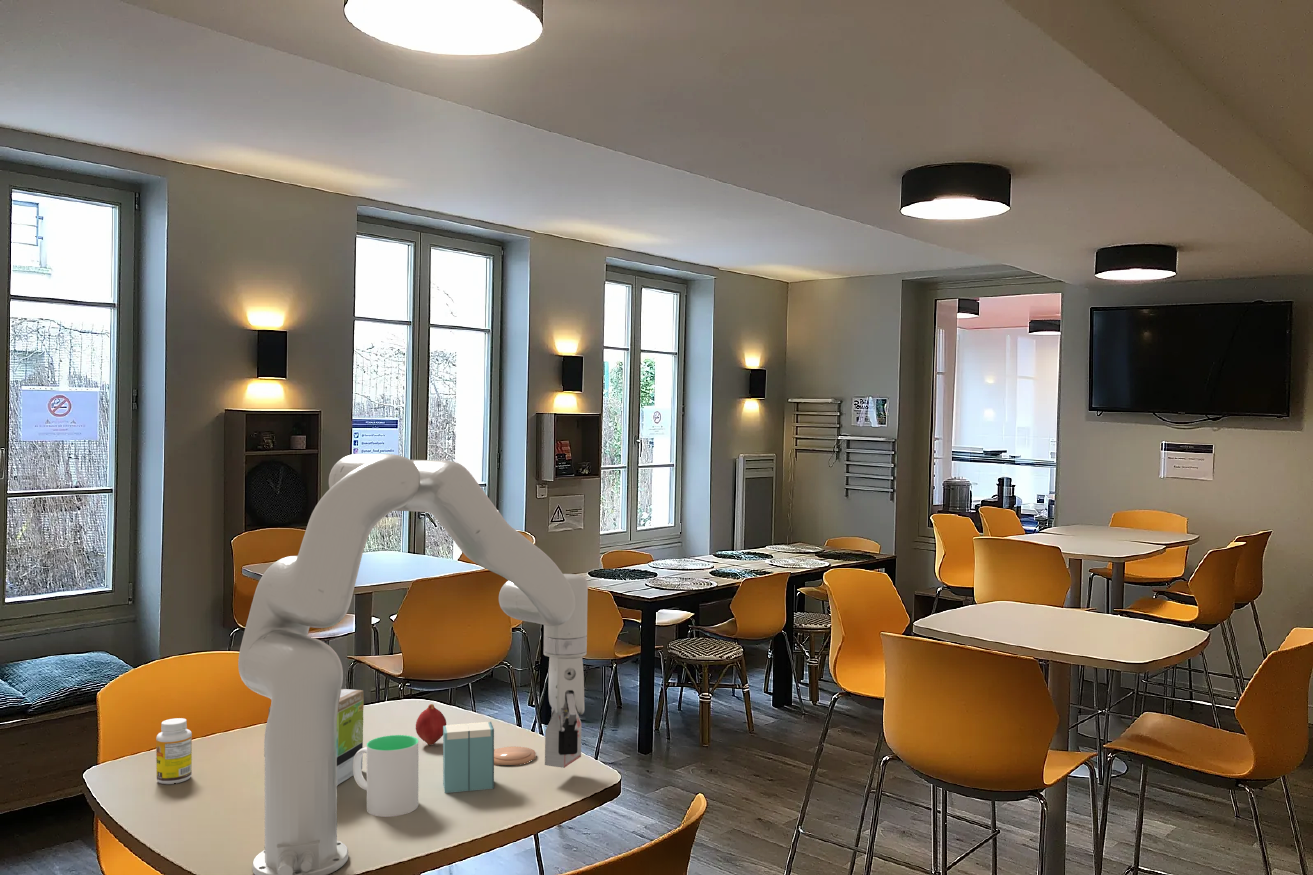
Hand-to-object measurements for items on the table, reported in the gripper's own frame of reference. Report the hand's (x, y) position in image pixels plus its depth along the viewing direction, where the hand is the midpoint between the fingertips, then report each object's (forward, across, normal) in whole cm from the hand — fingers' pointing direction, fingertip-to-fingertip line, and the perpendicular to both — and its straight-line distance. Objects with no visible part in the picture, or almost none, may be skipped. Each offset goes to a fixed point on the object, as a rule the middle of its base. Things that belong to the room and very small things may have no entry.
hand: (563, 746), depth 174 cm
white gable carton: (+3, 0, 0) cm, 3 cm away
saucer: (+6, +13, +7) cm, 16 cm away
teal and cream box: (+6, 0, +16) cm, 17 cm away
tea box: (+7, +9, +41) cm, 43 cm away
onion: (+6, +25, +21) cm, 34 cm away
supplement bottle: (+7, +17, +65) cm, 68 cm away
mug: (+7, -5, +30) cm, 31 cm away
